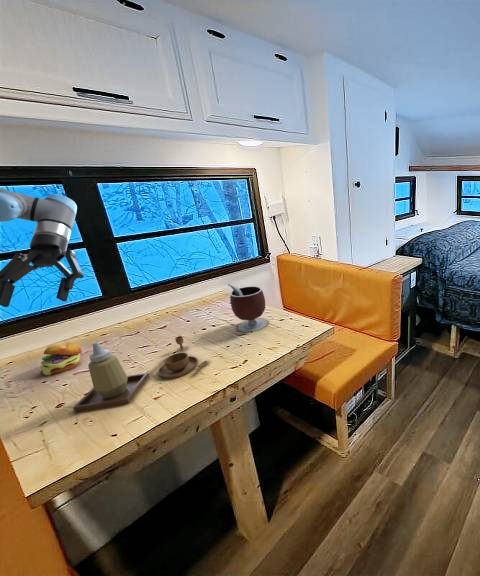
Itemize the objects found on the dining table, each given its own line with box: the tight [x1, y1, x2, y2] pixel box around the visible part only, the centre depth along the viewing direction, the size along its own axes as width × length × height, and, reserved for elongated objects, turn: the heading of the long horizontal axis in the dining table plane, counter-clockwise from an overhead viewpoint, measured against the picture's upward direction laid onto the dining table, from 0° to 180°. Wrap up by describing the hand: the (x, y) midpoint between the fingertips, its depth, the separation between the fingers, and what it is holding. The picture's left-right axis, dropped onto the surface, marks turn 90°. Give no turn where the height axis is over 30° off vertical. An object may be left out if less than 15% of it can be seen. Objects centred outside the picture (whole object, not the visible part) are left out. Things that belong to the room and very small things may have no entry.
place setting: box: [157, 335, 208, 379], centre depth 111 cm, size 18×20×6 cm
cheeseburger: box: [40, 343, 82, 376], centre depth 110 cm, size 10×11×10 cm
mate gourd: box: [227, 283, 268, 333], centre depth 135 cm, size 16×14×20 cm
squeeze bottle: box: [87, 341, 128, 398], centre depth 93 cm, size 8×8×18 cm
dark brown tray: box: [72, 372, 150, 413], centre depth 96 cm, size 14×14×2 cm
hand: (32, 302), depth 86 cm, fingers open, 13 cm apart
